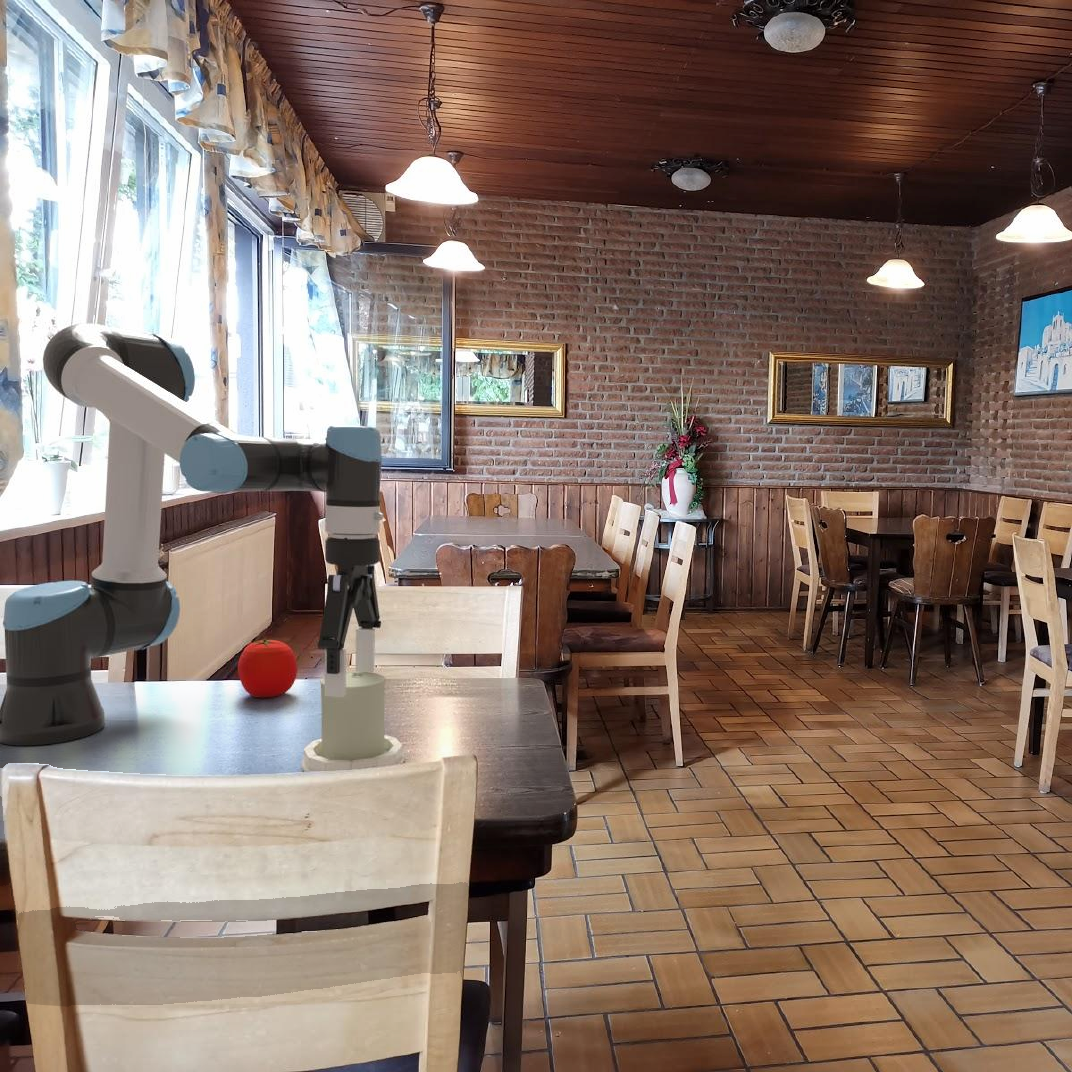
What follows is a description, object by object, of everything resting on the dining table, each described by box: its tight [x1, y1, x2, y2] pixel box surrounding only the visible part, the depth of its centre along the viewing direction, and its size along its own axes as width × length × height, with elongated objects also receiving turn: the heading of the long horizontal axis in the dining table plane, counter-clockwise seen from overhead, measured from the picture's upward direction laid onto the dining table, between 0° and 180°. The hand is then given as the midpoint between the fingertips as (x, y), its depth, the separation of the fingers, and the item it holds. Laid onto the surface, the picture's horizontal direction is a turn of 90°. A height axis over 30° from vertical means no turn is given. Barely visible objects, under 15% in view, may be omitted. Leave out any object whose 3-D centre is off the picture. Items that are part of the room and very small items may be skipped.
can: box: [319, 671, 386, 761], centre depth 120 cm, size 9×9×12 cm
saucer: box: [301, 734, 405, 771], centre depth 121 cm, size 14×14×2 cm
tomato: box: [237, 638, 298, 698], centre depth 155 cm, size 10×11×11 cm
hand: (350, 683), depth 120 cm, fingers open, 13 cm apart
